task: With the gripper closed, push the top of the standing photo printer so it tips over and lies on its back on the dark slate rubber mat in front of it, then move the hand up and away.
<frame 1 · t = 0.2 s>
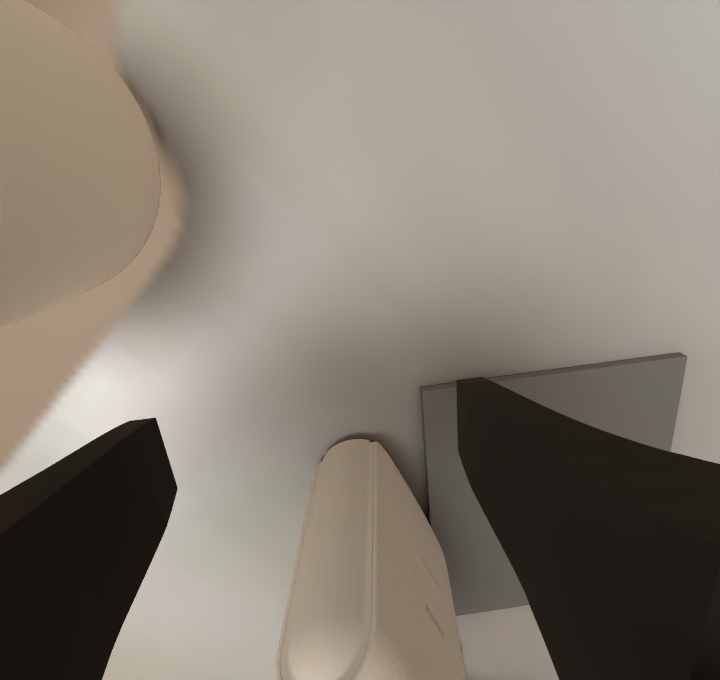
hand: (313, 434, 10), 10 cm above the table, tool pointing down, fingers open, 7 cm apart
rubber mat: (544, 495, 25), on the table
photo printer: (384, 506, 24), on the table, touching rubber mat
cup: (42, 163, 17), on the table
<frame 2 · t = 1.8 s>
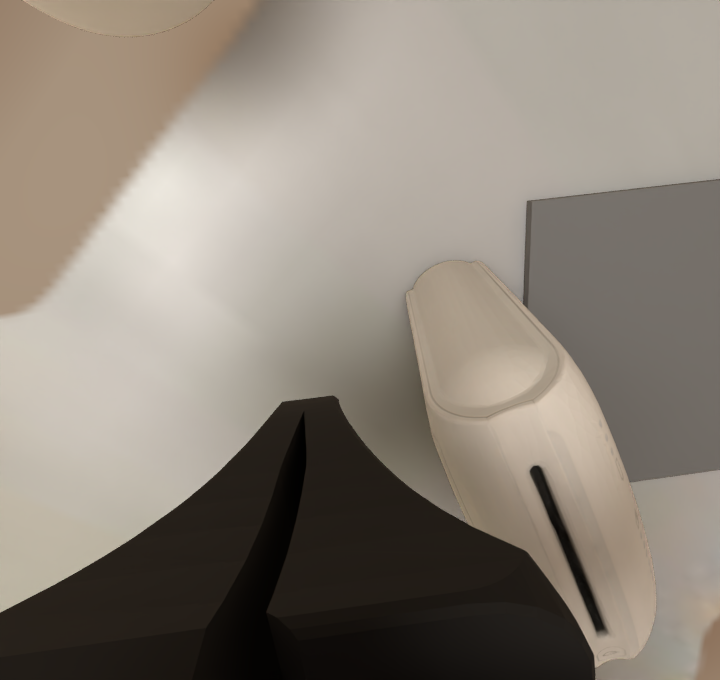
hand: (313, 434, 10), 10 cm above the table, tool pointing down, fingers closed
rubber mat: (649, 348, 22), on the table
photo printer: (474, 354, 21), on the table, touching rubber mat
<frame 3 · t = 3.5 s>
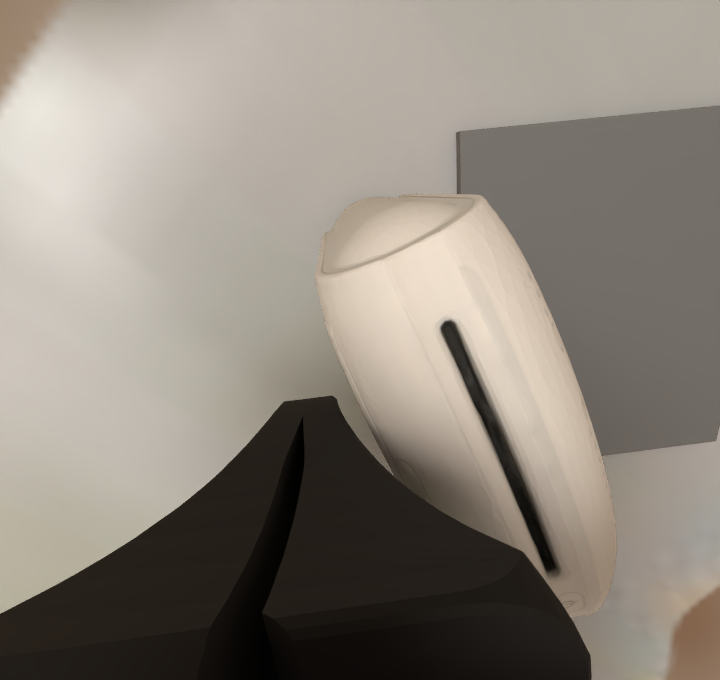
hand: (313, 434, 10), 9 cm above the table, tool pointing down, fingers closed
rubber mat: (601, 307, 20), on the table
photo printer: (405, 311, 19), on the table, touching rubber mat
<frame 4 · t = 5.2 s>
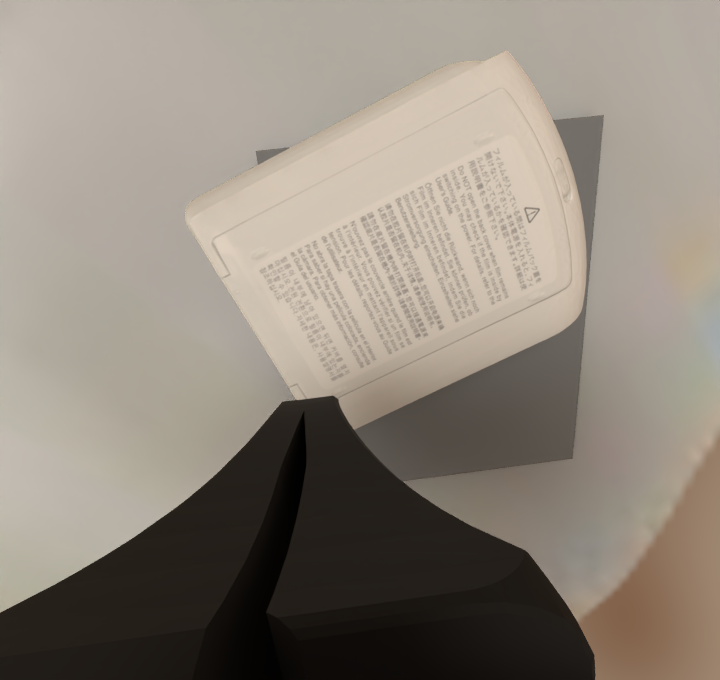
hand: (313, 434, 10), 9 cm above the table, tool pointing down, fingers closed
rubber mat: (436, 325, 20), on the table
photo printer: (258, 334, 16), point 3 cm above the table, touching rubber mat
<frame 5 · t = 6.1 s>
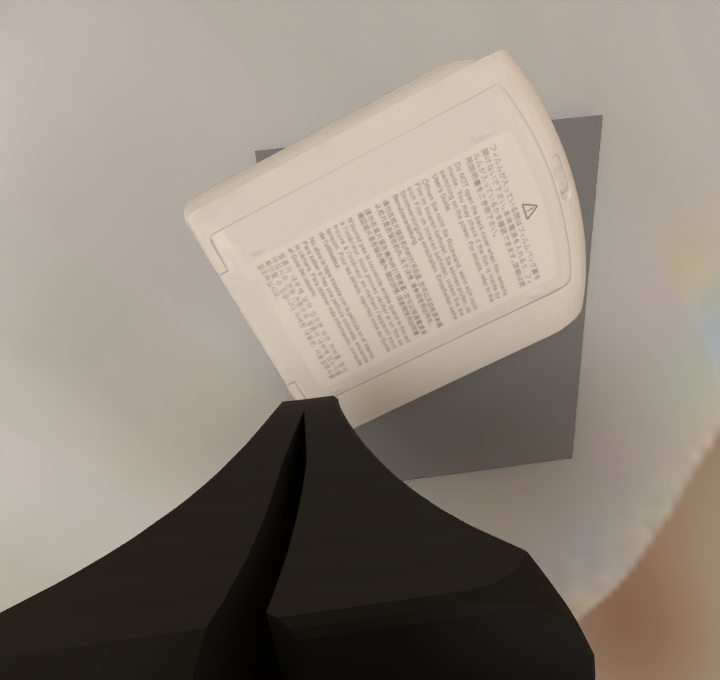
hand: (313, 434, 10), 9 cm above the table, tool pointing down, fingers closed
rubber mat: (435, 325, 20), on the table
photo printer: (256, 333, 16), point 3 cm above the table, touching rubber mat
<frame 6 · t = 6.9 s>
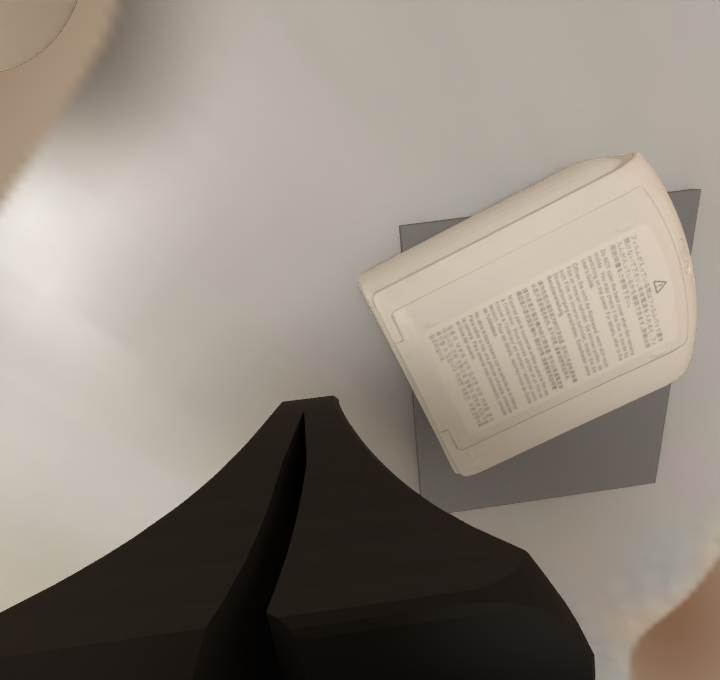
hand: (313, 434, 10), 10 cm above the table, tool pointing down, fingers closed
rubber mat: (541, 368, 22), on the table
photo printer: (403, 384, 19), point 3 cm above the table, touching rubber mat
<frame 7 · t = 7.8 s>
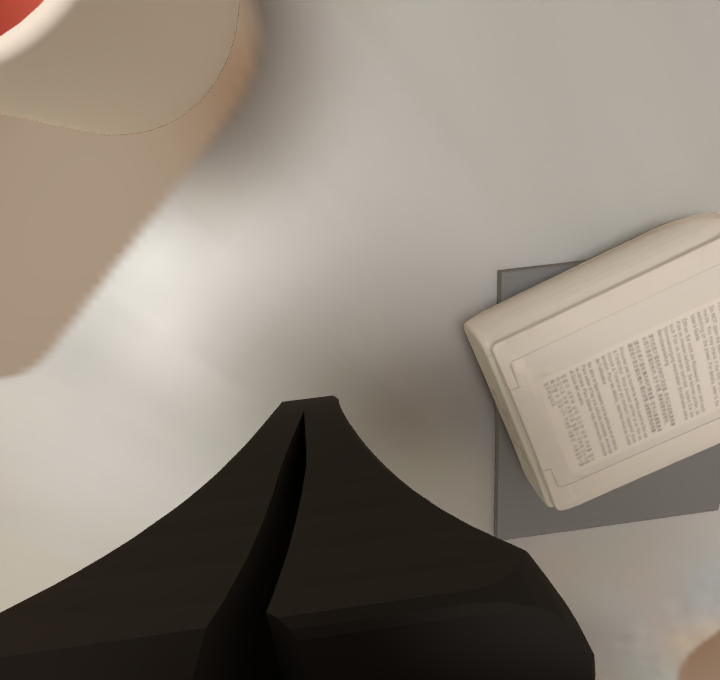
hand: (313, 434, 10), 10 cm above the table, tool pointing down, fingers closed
rubber mat: (618, 402, 23), on the table
photo printer: (501, 422, 20), point 3 cm above the table, touching rubber mat
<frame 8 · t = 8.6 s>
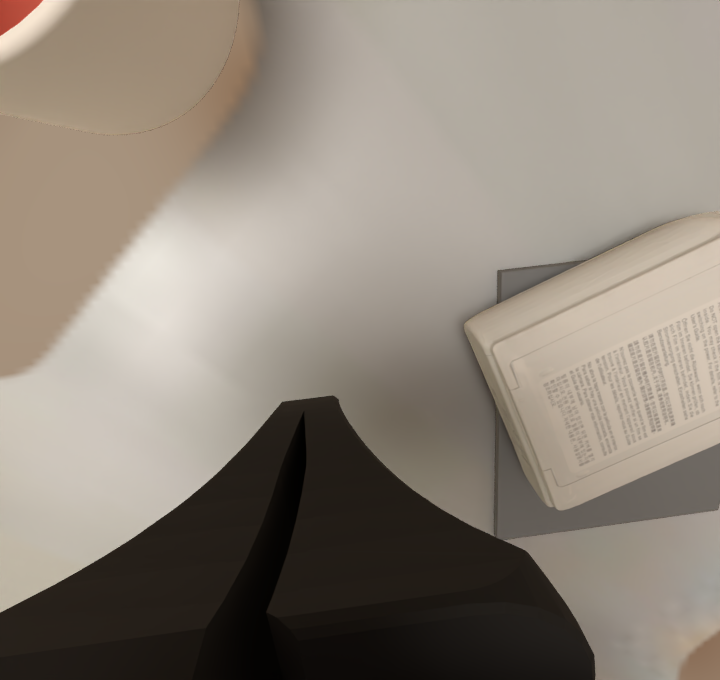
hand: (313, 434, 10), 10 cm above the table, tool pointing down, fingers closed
rubber mat: (618, 402, 23), on the table
photo printer: (501, 422, 20), point 3 cm above the table, touching rubber mat
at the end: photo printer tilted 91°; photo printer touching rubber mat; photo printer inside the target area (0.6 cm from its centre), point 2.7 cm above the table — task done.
